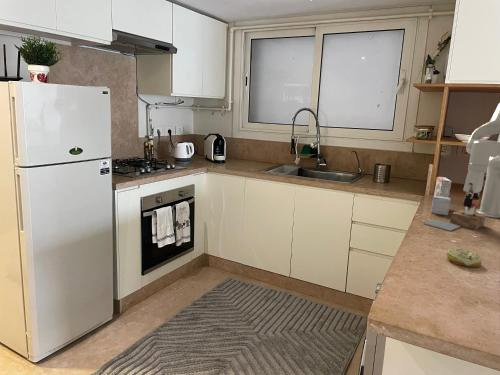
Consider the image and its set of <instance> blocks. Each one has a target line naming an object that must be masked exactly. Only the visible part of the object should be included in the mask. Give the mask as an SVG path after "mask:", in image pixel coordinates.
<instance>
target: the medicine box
mask: <svg viewBox="0 0 500 375" xmlns="http://www.w3.org/2000/svg"><path fill="white" fill-rule="evenodd" d="M451 201H452V200H451V197H449V198H448V197H441V196H434V195H433V198H432V203H431V208H430V209H431V210H430V213H431V214H435V215H442V216H449V211H450V207H451Z"/></svg>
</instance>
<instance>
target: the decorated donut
mask: <svg viewBox="0 0 500 375" xmlns="http://www.w3.org/2000/svg"><path fill="white" fill-rule="evenodd" d="M446 256H447V258H448V260H449V261H450V262H452V263H453V264H455V265H457V264H458V266H461V265H462V266H463V267H466V266H467V268H479V267H480V266H481V265H482V261H483V258H482V257H481V256H480V255H478V253H476V252H473V251H471V250H468V249H465V248H457V247H456V248H454V247H453V248H449V249H448V250H447V252H446Z"/></svg>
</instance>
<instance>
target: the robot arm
mask: <svg viewBox="0 0 500 375" xmlns="http://www.w3.org/2000/svg"><path fill="white" fill-rule="evenodd" d="M492 114H493V115H492V116H491V118H490V120H489V121H488V122H486V123H484V124H482V125H481V126H479V127H477V128H476V129H474V131H473V132H472V133H471V135H470V137H469V138H468V140H467V143H466V147H465V149H466V152H467V154H469V155H470V156H469V162H468V167H467V171H468V172H467V174H466V178H465V182H464V186H463V192H465V195H464V198H465V200H464V199H463V202H464V203H463V207H471V206H472V201H473V199H472V198H475V199H478V200H479V199H480V193H481V191H482V189H483V191H482V197H481V200H480V201H481V202H480V206H479V208H478V209H476V211H475V213H477V214H481V215H485V216H486V217H488V218H493V219H495V218H496V219H500V102H499V103H498V104H497V106H496V109H495V110H494V113H492ZM498 134H499V135H498ZM493 135H498V138H497V140H490V139H489V140H488V139H483V138H485V137H489V136H493ZM485 174H486V177H485ZM484 179H485V180H484ZM484 181H485V182H484ZM483 185H484V187H483Z"/></svg>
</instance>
